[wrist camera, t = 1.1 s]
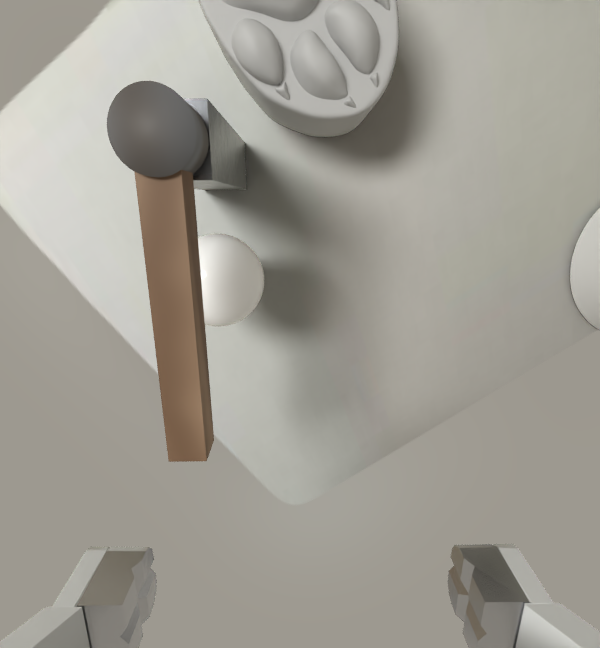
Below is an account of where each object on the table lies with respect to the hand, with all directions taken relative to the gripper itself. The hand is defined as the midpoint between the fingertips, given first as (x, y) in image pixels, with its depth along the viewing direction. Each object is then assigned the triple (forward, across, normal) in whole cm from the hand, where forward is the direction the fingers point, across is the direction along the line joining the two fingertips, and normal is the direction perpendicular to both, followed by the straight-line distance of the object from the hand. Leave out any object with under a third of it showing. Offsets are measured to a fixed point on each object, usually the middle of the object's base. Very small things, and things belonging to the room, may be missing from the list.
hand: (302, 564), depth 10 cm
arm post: (+27, +6, -12) cm, 30 cm away
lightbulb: (+28, +6, -4) cm, 28 cm away
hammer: (+13, +6, -5) cm, 15 cm away
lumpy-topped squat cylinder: (+28, -1, -20) cm, 34 cm away
